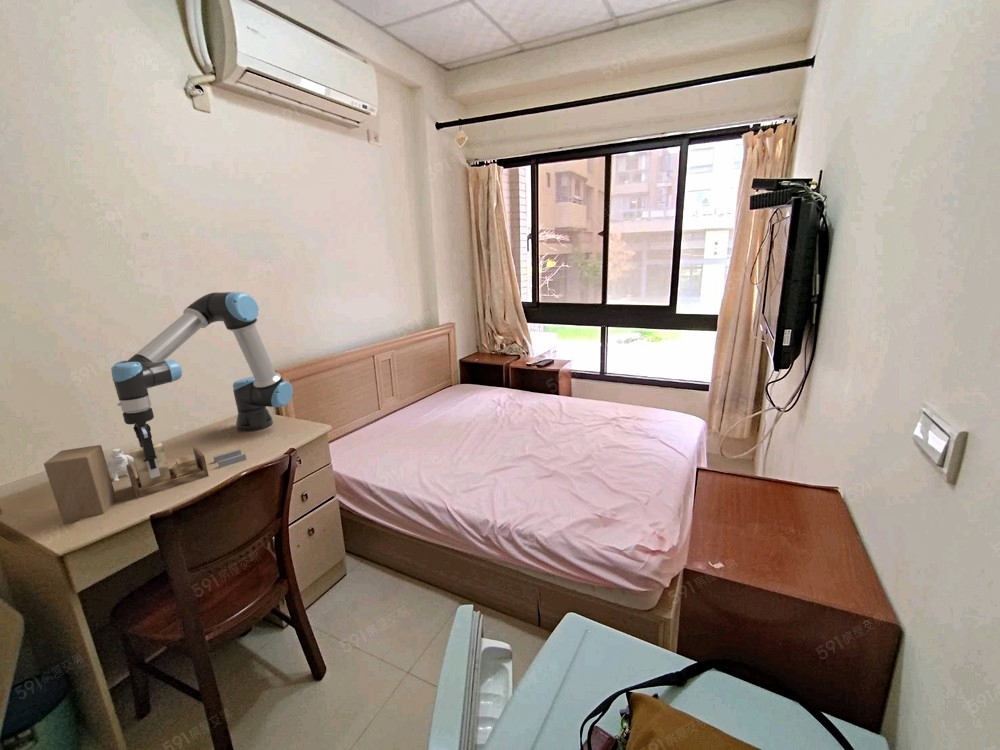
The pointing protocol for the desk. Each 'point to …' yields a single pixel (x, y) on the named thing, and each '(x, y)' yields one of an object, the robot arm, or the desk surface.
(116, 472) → the figurine
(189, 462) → the offcut stack
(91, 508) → the wooden block
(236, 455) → the holder
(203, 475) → the rack
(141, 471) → the tan wood slab
